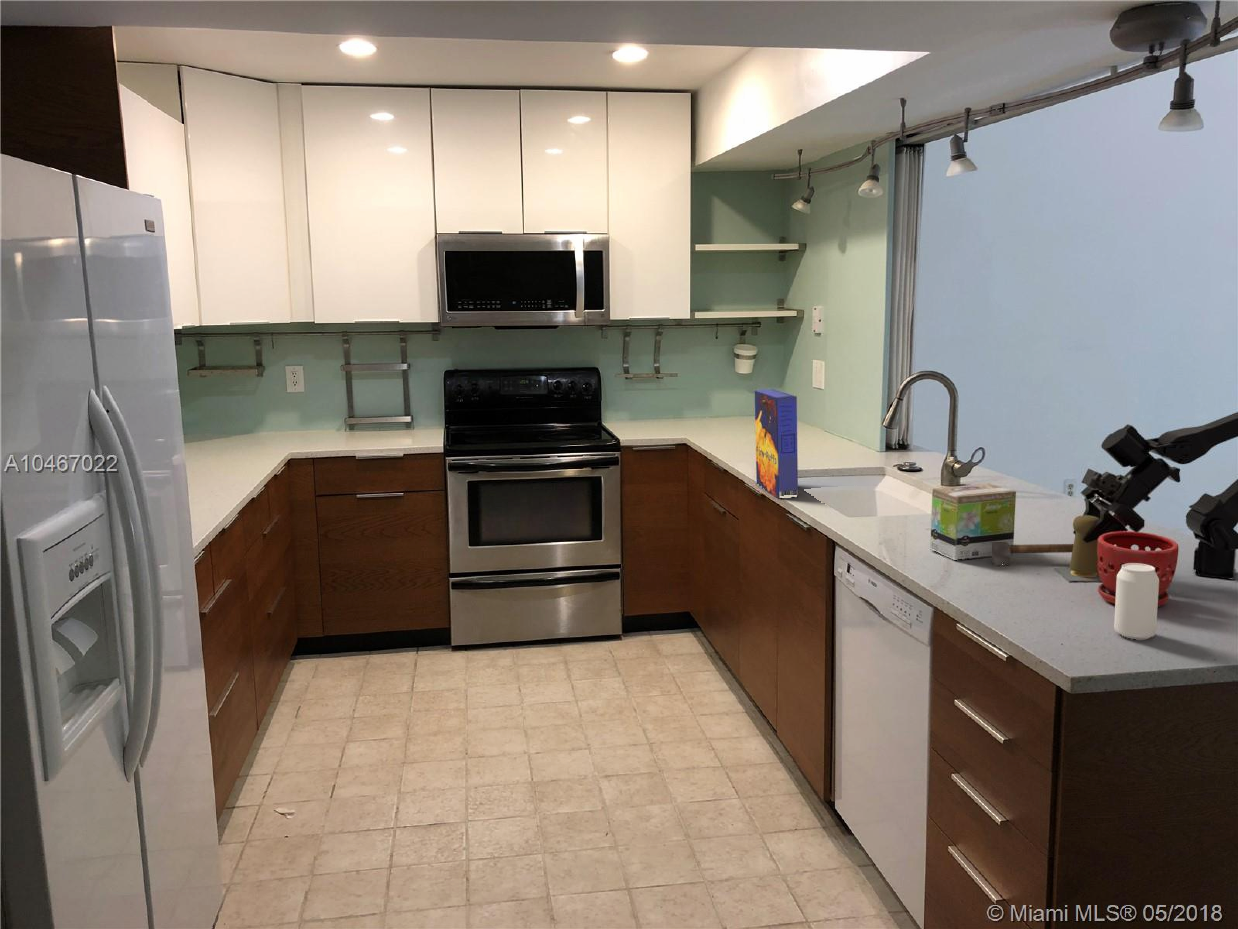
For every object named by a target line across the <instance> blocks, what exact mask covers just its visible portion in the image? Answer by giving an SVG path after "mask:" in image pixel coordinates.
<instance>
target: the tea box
mask: <svg viewBox="0 0 1238 929" xmlns="http://www.w3.org/2000/svg"><path fill="white" fill-rule="evenodd" d="M1016 500H1017V492H1016V491H1015V490H1014V489H1013V490H1012V489H1009V488H1006V487H1002V486H999V485H995V484H992V483H980V484H969V485H968V484H967V485H958V486H957V485H956V486H946V487H937V488H936V487H935V488H932V498H931V515H930V516H931V518H930V544H929V545H930V547H929V548H932V549H934V550H936V551H939V552H941V553H942V554H944V555H948V556H949V557H951V558H954V559H962V560H965V559H964V558H969V559H977V558H986V557H992V542H1007V543H1008V544H1009V545H1014V543H1015V541H1014V539H1015V522H1016V521H1015V518H1016V504H1017V503H1016ZM1012 554H1013V553H1010V555H1012Z"/></svg>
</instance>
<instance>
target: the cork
mask: <svg viewBox="0 0 1238 929" xmlns="http://www.w3.org/2000/svg"><path fill="white" fill-rule="evenodd" d="M1098 520H1099V518H1097V517H1095V516H1089V515H1083V514H1082V515H1078V516H1076V517H1075V518H1074V519H1073V522H1072V527H1073V528H1072V529H1073V531H1074V530H1075V531H1076V534H1074V539H1073V544H1074V545H1073V551H1072V552H1071V556H1070V557H1071V558H1070V562H1069V563H1070V564H1069V568H1070V569H1071V570H1073V571H1076V572H1081V573H1098V572H1099V571H1098V555H1097V545H1098V539H1097V540H1094V541H1091V542H1088V543H1086V542H1085V541H1084V540H1083V538H1084V536H1085V535H1086V534H1087V532H1088V531H1089V530H1090V529H1091V528H1092V527H1093V525H1094V524H1095V523H1096V522H1097V521H1098Z"/></svg>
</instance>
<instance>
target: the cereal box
mask: <svg viewBox="0 0 1238 929" xmlns="http://www.w3.org/2000/svg"><path fill="white" fill-rule="evenodd" d="M797 398H798V396H797V395H793V394H789V393H787V392H782V391H780V390H775V389H769V388H768V389H767V388H764V389H758V390H754V419H755V422H754V423H755V424H754V425H755V426H754V427H755V431H754V432H755V465H756V466H755V471H756V472H755V473H756V479H755V480H756V484H757V483H758V484H759V486H762V488H761V489H762V490H763V488H764V489H765V490H764V491H765V492H767V493H768V494H770V495H771V496H773V498H776V499H777V500H780V499H779V497H780V496H784V495H798V496H799V481H798V480H799V477H798V476H799V475H798V473H799V472H798V470H799V469H798V468H799V466H798V462H799V461H798V459H799V458H798V403H797V402H798V399H797ZM759 486H758V487H759Z"/></svg>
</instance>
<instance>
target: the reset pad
mask: <svg viewBox="0 0 1238 929" xmlns="http://www.w3.org/2000/svg"><path fill="white" fill-rule="evenodd" d="M1069 567H1070V566H1069ZM1069 567H1064V566H1063V567H1053V570H1054V569H1055V570H1056V571H1055V570H1054V571H1055V572H1057V573H1058V572H1059V573H1058V574H1059V575H1060V574H1061V575H1062V576H1063V577H1064V578H1063V577H1062V576H1061V575H1060V576H1061V577H1062V578H1063V579H1065V578H1066V579H1067V580H1068V581H1070V582H1069V583H1072V582H1071V581H1078V582H1077V583H1103V582H1102V580H1101V578H1100V575H1099V572H1098V573H1081V572H1076V571H1073V570H1071V569H1070V568H1069ZM1066 579H1065V580H1066ZM1067 580H1066V581H1067ZM1068 581H1067V582H1068ZM1082 581H1083V582H1082Z"/></svg>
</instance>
